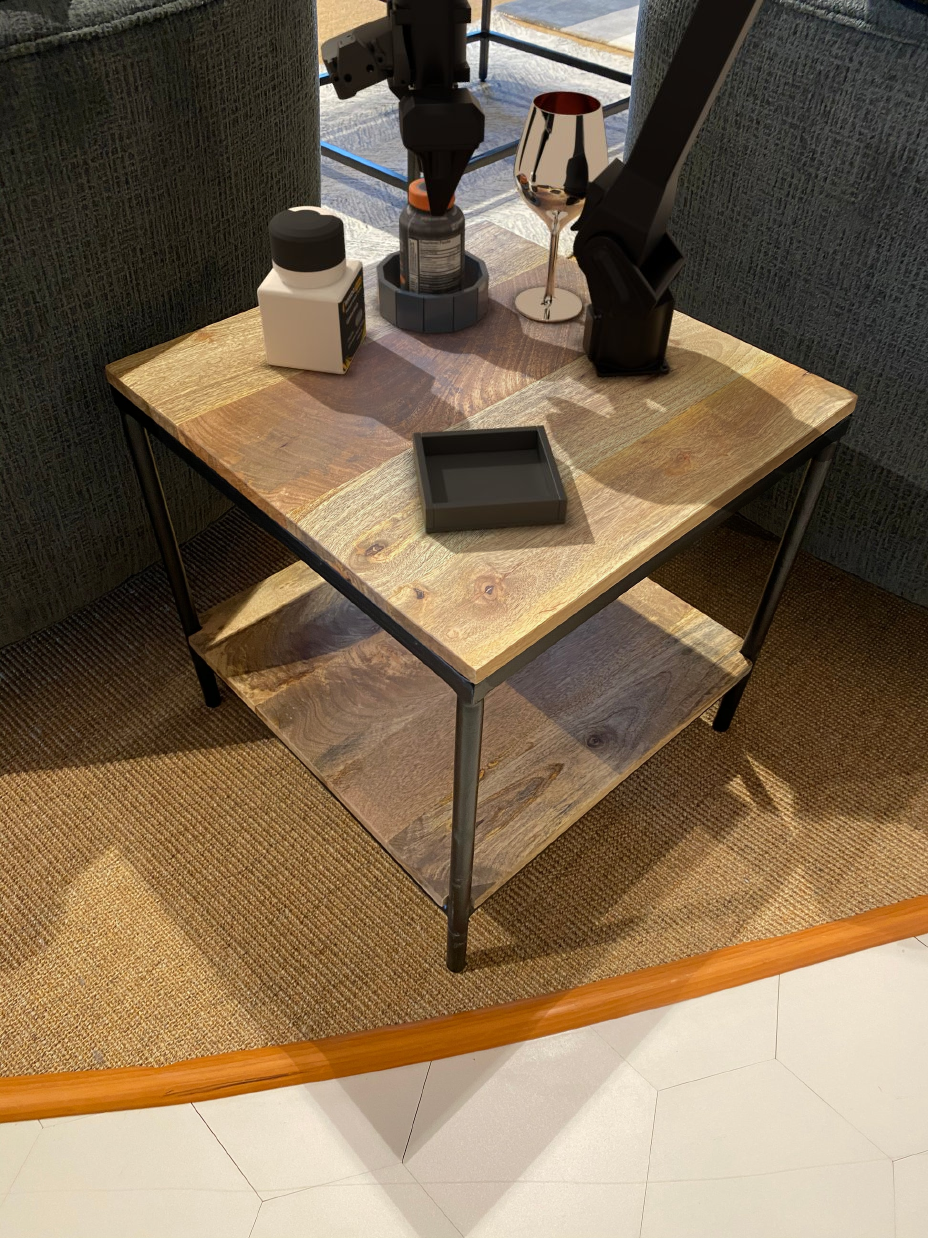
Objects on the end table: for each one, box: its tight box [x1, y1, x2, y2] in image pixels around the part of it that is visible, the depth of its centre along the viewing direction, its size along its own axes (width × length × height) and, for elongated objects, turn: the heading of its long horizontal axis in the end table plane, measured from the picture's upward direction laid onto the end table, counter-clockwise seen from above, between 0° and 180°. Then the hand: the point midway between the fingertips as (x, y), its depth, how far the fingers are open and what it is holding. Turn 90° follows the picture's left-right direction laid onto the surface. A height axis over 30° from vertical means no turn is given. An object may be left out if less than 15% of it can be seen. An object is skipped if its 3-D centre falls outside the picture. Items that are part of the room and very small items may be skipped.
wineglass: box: [512, 90, 609, 323], centre depth 87 cm, size 8×8×18 cm
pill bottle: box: [398, 177, 466, 295], centre depth 89 cm, size 6×6×11 cm
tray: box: [412, 424, 569, 534], centre depth 73 cm, size 10×9×2 cm
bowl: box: [375, 249, 490, 334], centre depth 92 cm, size 10×10×4 cm
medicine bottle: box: [256, 205, 367, 375], centre depth 83 cm, size 7×7×12 cm
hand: (431, 192), depth 86 cm, fingers open, 9 cm apart
